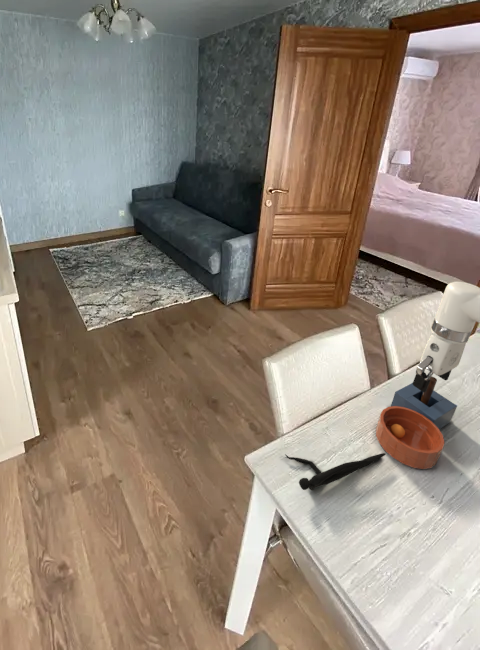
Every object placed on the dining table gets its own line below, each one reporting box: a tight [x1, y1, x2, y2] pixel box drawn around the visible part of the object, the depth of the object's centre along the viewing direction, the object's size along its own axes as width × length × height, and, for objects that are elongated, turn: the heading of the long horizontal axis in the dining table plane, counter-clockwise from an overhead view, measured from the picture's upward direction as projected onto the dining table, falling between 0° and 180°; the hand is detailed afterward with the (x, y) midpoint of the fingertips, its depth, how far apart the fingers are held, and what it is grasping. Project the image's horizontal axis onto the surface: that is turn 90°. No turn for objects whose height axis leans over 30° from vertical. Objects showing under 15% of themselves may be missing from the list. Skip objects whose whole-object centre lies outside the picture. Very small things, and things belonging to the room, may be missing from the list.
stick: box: [420, 375, 438, 406], centre depth 94 cm, size 2×2×13 cm
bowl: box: [375, 405, 445, 470], centre depth 87 cm, size 13×13×6 cm
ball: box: [390, 424, 405, 438], centre depth 89 cm, size 3×3×3 cm
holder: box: [390, 382, 458, 430], centre depth 95 cm, size 10×10×6 cm
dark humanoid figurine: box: [284, 452, 387, 491], centre depth 82 cm, size 8×9×25 cm
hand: (429, 382), depth 92 cm, fingers open, 9 cm apart
